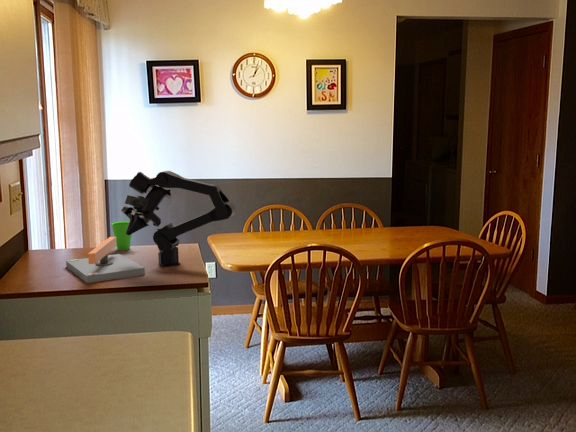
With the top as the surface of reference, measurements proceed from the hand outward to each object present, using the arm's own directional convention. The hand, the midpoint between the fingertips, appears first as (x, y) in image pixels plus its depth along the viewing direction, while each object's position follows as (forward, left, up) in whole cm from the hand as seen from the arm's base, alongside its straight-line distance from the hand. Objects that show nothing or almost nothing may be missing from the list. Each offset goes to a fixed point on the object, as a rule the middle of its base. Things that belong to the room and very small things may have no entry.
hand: (127, 234), depth 219 cm
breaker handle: (+8, -4, -11) cm, 14 cm away
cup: (-10, -38, -13) cm, 42 cm away
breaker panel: (+8, -4, -13) cm, 16 cm away
